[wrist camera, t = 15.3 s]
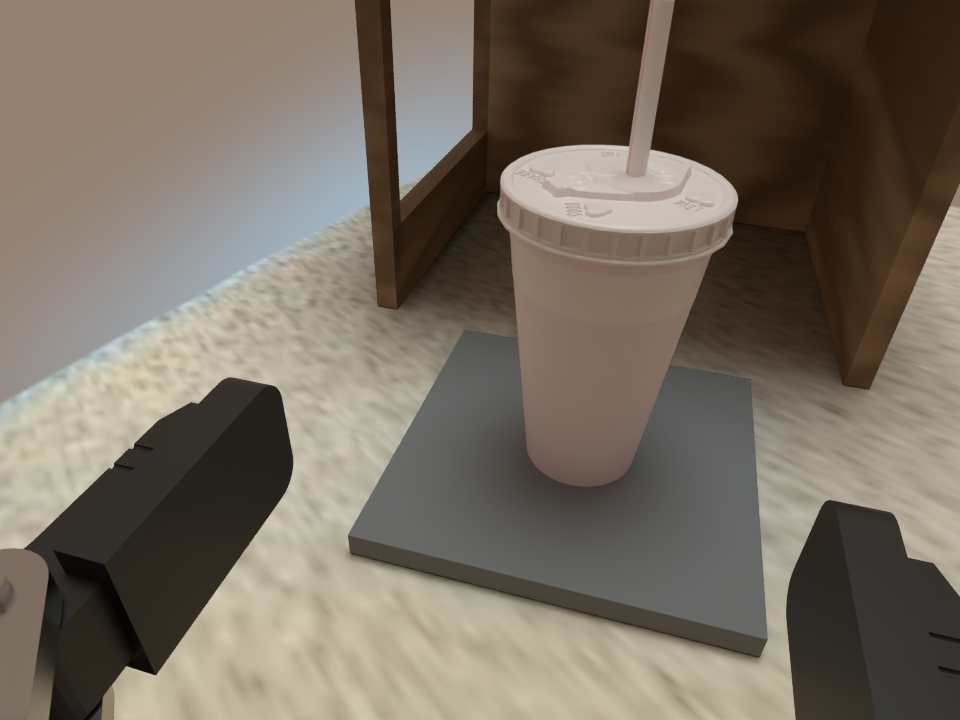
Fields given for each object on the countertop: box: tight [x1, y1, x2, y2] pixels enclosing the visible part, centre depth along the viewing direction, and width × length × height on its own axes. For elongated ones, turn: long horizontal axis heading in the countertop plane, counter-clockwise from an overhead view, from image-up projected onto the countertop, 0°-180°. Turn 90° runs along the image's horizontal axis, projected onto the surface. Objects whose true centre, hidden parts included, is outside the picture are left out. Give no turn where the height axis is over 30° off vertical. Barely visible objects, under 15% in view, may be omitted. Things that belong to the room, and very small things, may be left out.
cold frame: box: [355, 0, 960, 389], centre depth 32 cm, size 23×18×20 cm
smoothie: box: [497, 0, 738, 487], centre depth 20 cm, size 6×6×14 cm
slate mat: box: [348, 330, 768, 657], centre depth 24 cm, size 12×12×1 cm
